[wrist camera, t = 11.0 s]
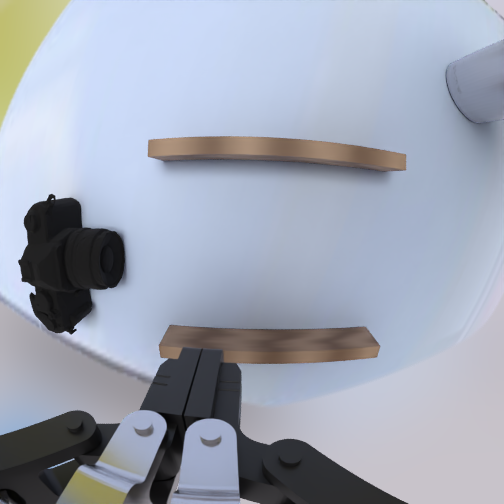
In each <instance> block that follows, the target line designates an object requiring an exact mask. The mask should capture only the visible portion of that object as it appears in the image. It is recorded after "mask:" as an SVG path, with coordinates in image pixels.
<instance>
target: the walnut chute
mask: <svg viewBox="0 0 504 504" xmlns="http://www.w3.org/2000/svg"><path fill="white" fill-rule="evenodd" d="M148 157H151V158H155V159H159V160H162V161H170V160H202V159H238V160H271V161H290V162H304V163H317V164H328V165H338V166H347V167H355V168H363V169H371V170H378V171H384V172H385V171H402V170H406V154H401V153H396V152H390V151H385V150H379V149H374V148H367V147H361V146H354V145H347V144H339V143H331V142H322V141H312V140H301V139H287V138H270V137H233V136H220V137H183V138H166V139H153V140H149V142H148ZM183 347H191V348H202V349H204V348H207V349H223V354H224V362H225V363H251V364H287V363H315V362H332V361H345V360H357V359H366V358H375V357H377V355H378V352H379V348H380V345H379V344H378V342H377V341H376V340H375V338H374V337H373V336H372V334H371V333H370V332H369V330H368V329H367V328H366V327H353V328H332V329H292V330H268V329H227V328H205V327H189V326H176V325H170V326H169V327H168V329H167V331H166V333H165V335H164V337H163V339H162V340H161V342H160V344H159V350H160V357H161V358H171V359H178V357H179V355H180V353H181V350H182V348H183Z"/></svg>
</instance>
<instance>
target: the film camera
mask: <svg viewBox="0 0 504 504" xmlns="http://www.w3.org/2000/svg"><path fill="white" fill-rule="evenodd" d="M52 198H54V200H51V199H52ZM24 226H25V228H26V230H27V238H28V245H27V247H26V248H25V250H24V253H23V256H22V258H21V260H19V261H18V263H19V265H20V267H21V274H22V282H28V283H29V284H31V285H32V286H35V291H36V295H34V294H33V293H32V292H31V294H30V301H31V305H32V308H33V311H34V314H35V316H36V317H37V318H38V319H39V320H40V321H41V322H42V323H43V324H44V325H45V326H46V328H47V329H48V330H50V331H52V332H55V333H62V332H64V331H67V332H69V333H70V334H73V333H74V332H75V331H76V329H74V326H75V325H76V324H77V323H79V322H80V321H81V320H82V319H83V318H84V317H85V316H86V315H87V314H88V313H90V311H91V309H92V308H91V307H92V302H91V296H90V290H89V289H90V288H91V289H97V290H103V289H107V288H108V287H109V288H114V287H115V286H117V284H118V283H119V281H120V280H121V278H122V275H123V270H124V262H125V258H124V247H123V242H122V239H121V238H120V236H119V235H118V234H117V233H116V232H115V231H109V230H107V229H102V228H101V229H91V228H82V221H81V206H80V204H79V202H78V201H77V200H75V199H73V198H63V199H57V200H56V199H55V195H53V194H50V195H49V197H48V199H47V201H41V202H38V203H36V204H34V205H33V206H32V207H31V208H30V209H29V211H28V213H27V215H26V216H25V218H24ZM73 329H74V330H73Z"/></svg>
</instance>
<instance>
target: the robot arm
mask: <svg viewBox="0 0 504 504" xmlns="http://www.w3.org/2000/svg"><path fill="white" fill-rule="evenodd" d="M446 77H447V84H448V88H449V91H450V93H451V96H452V98H453V100H454V102H455V103H456V105H457V107H458V108H459V109H460V111H461V112H462V113H463V114H464V115H465V116H466V117H467V118H468V119H469V120H471V121H473V122H475V123H484V122H490V121H496V120H504V39H503V40H501V41H499V42H496V43H494V44H492V45H489V46H487V47H485V48H483V49H480V50H478V51H476V52H474V53H472V54H470V55H467V56H465V57H463V58H461V59H459V60H457V61H455V62H453V63H451V64H450V65H449V66H448V69H447V74H446ZM240 416H241V370H240V369H239V367H238V365H237V364H236V363H225V362H224V354H223V349H207V348H204V349H202V348H191V347H183V348H182V350H181V353H180V355H179V357H178V359H171V358H169V359H168V360H166V361H165V362H164V363H163V364H162V365H160V367H159V369H158V371H157V373H156V376H155V378H154V380H153V383H152V384H151V386H150V388H149V390H148V393H147V395H146V397H145V399H144V401H143V403H142V406H141V408H140V410H139V411H135V412H132V413H130V414H128V415H127V416H126V417H125V418H124V419H123V420H122V422H121V423H119V424H96V422H95V420H94V418H93V417H92V416H91V415H90V414H88V413H87V412H84V411H70V412H67V413H64V414H62V415H59V416H56V417H54V418H51V419H48V420H46V421H43V422H40V423H37V424H34V425H31V426H29V427H26V428H23V429H20V430H17V431H14V432H10V433H7V434H4V435H0V504H240V498H243V499H246V500H249V501H253V502H257V503H260V504H408V503H406V502H404V501H402V500H400V499H397V498H396V497H393V496H392V495H390V494H388V493H386V492H384V491H382V490H380V489H378V488H377V487H375V486H373V485H371V484H370V483H368V482H366V481H364V480H363V479H361V478H359V477H358V476H356V475H354V474H353V473H351V472H349V471H348V470H346V469H345V468H343V467H341V466H340V465H338V464H337V463H335V462H334V461H332V460H331V459H329V458H328V457H326V456H325V455H323V454H322V453H320V452H319V451H317V450H316V449H315V448H313V447H312V446H310V445H309V444H307V443H306V442H303V441H300V440H295V439H284V440H279V441H277V442H274V443H272V444H271V445H267V444H263V443H259V442H256V441H253V440H251V439H249V438H248V437H246V436H245V435H244V434H243V433H242V432H241V430H240ZM73 458H74V459H75V460H72V461H70V462H68V463H65V464H62V465H60V466H57V467H55V468H52V469H47V468H50V467H52V466H55V465H58V464H60V463H63V462H65V461H68V460H70V459H73ZM180 467H181V468H180ZM178 483H179V487H178V490H177V491H176V489H177V486H178Z"/></svg>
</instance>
